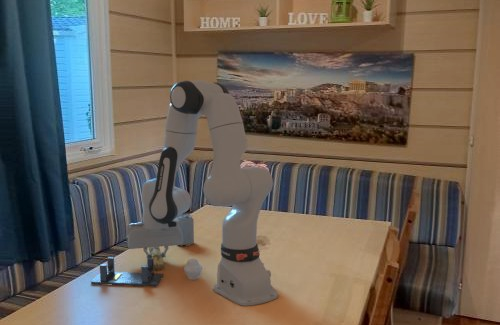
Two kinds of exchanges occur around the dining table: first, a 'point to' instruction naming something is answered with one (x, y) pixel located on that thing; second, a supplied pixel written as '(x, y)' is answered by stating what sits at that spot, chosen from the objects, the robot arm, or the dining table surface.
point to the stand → (128, 275)
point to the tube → (156, 258)
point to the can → (187, 228)
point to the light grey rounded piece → (193, 269)
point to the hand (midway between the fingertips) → (156, 257)
